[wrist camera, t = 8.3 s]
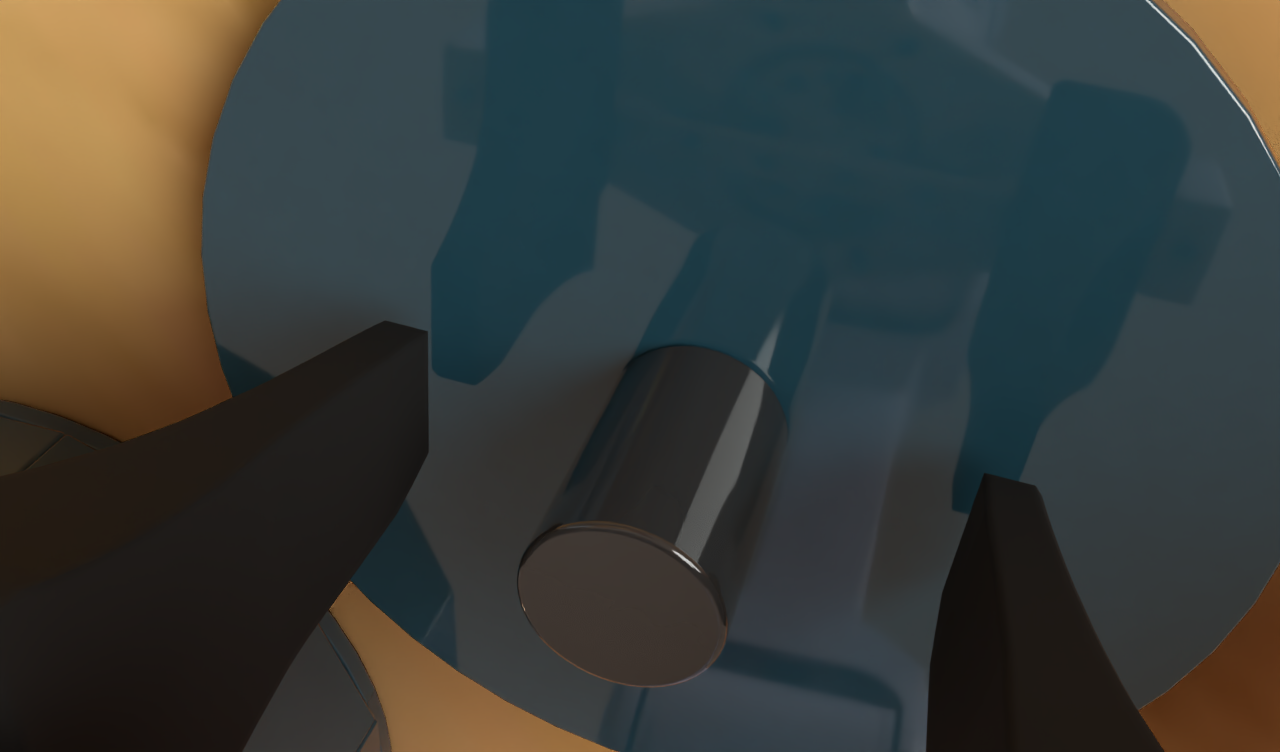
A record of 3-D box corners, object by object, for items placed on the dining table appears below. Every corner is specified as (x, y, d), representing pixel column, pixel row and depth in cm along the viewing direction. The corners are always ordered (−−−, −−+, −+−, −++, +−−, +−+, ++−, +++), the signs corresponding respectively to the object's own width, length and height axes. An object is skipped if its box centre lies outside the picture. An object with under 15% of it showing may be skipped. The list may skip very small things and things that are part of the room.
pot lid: (1264, -431, 10) (1375, -418, 7) (1344, 739, 17) (1420, 1070, 13) (59, -8, 16) (-238, 124, 13) (470, 738, 23) (355, 968, 19)
